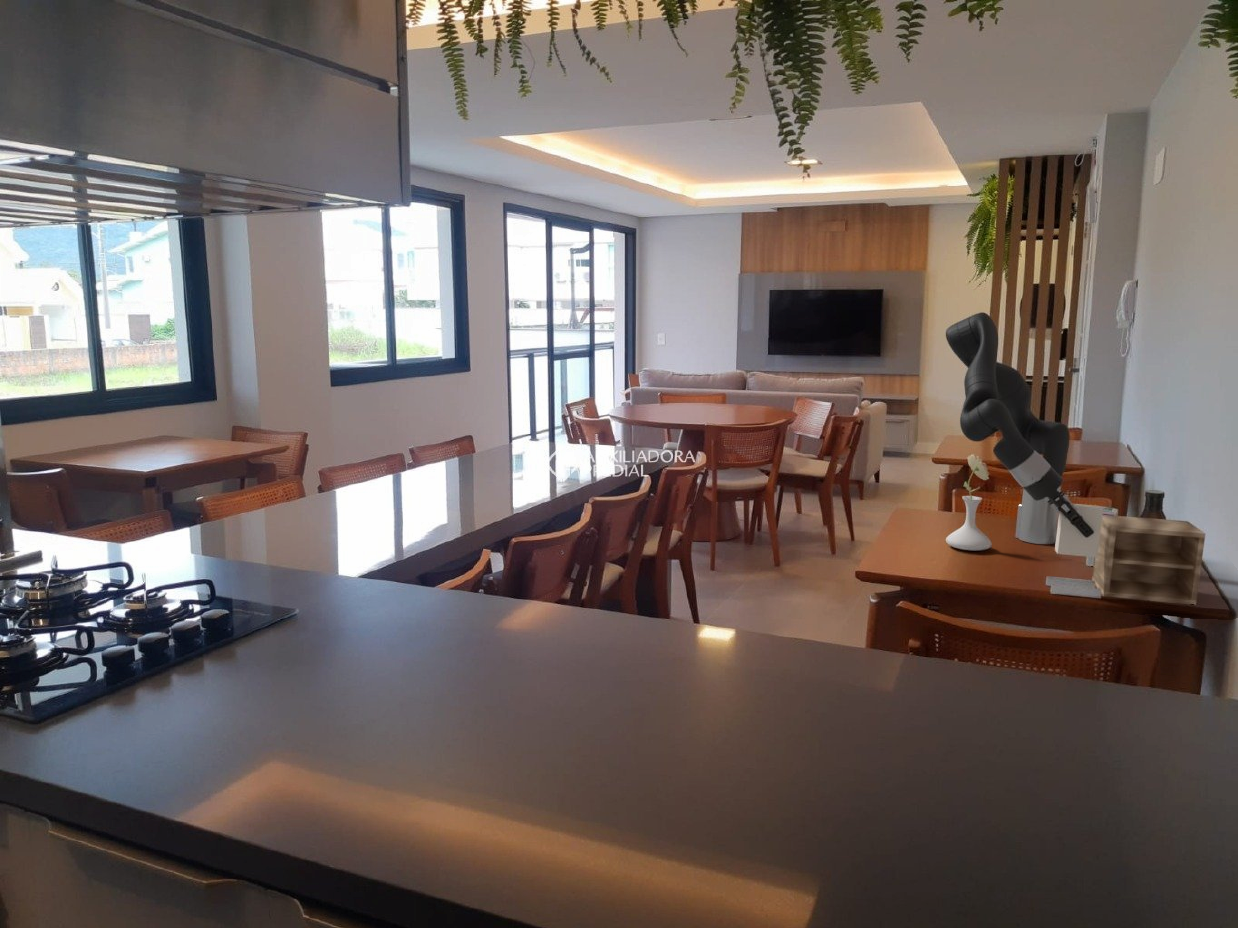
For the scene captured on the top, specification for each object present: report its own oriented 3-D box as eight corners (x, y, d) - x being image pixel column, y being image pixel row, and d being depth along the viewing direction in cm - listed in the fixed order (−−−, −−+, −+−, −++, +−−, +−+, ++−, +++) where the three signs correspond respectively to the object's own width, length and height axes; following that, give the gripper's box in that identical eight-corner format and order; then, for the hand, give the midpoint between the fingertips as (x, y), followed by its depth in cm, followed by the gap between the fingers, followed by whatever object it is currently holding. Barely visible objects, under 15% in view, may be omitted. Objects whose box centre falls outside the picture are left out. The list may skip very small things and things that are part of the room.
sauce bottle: (1155, 567, 220) (1164, 489, 216) (1167, 574, 214) (1178, 494, 210) (1127, 565, 220) (1136, 488, 217) (1139, 573, 214) (1149, 493, 211)
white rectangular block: (1057, 553, 197) (1063, 506, 195) (1054, 549, 201) (1060, 502, 199) (1097, 557, 195) (1103, 509, 193) (1093, 553, 198) (1099, 505, 196)
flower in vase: (995, 555, 228) (1003, 460, 224) (948, 552, 230) (956, 458, 226) (984, 542, 241) (993, 452, 236) (941, 540, 243) (948, 450, 239)
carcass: (1103, 596, 196) (1111, 526, 193) (1091, 580, 207) (1099, 514, 205) (1195, 605, 191) (1205, 533, 188) (1178, 588, 202) (1187, 521, 199)
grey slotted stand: (1051, 593, 197) (1051, 585, 197) (1045, 584, 204) (1046, 576, 204) (1100, 598, 194) (1101, 589, 194) (1093, 589, 201) (1094, 580, 201)
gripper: (1016, 479, 205) (1067, 535, 204) (1025, 491, 192) (1080, 551, 191) (1043, 459, 203) (1095, 515, 202) (1055, 469, 190) (1110, 529, 188)
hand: (1088, 532), depth 196 cm, fingers closed on white rectangular block, 3 cm apart
